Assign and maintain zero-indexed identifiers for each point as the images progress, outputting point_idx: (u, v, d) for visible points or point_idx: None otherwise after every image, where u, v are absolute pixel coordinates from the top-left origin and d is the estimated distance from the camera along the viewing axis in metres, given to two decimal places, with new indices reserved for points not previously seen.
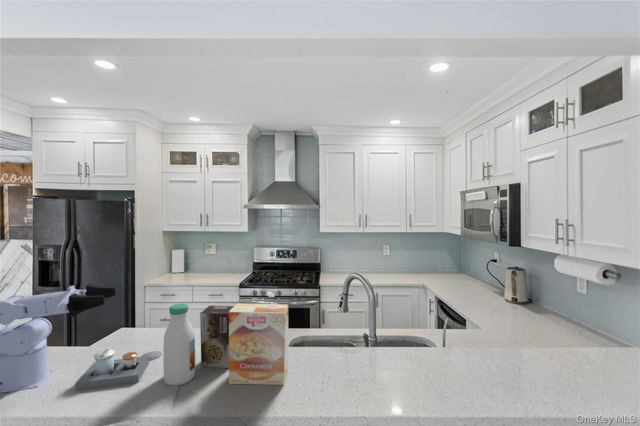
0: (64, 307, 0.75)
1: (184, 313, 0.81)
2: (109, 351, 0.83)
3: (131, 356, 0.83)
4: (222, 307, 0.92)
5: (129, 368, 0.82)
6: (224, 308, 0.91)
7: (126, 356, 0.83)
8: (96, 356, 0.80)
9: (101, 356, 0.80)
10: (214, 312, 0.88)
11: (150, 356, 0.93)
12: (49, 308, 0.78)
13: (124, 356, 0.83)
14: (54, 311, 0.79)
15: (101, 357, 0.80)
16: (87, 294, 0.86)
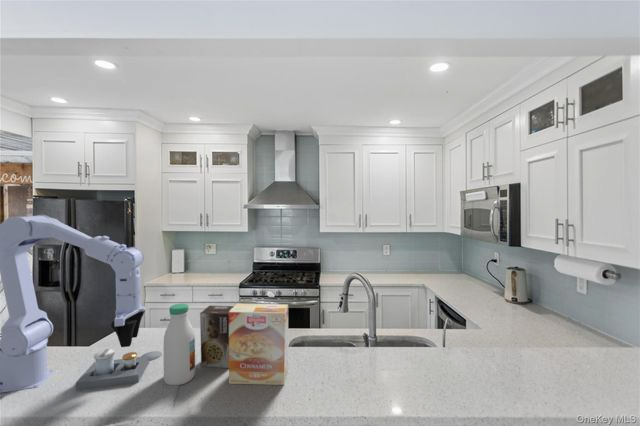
0: (121, 325, 0.76)
1: (184, 313, 0.81)
2: (109, 351, 0.83)
3: (131, 356, 0.83)
4: (222, 307, 0.92)
5: (129, 368, 0.82)
6: (224, 308, 0.91)
7: (126, 356, 0.83)
8: (96, 356, 0.80)
9: (101, 356, 0.80)
10: (214, 312, 0.88)
11: (150, 356, 0.93)
12: (123, 298, 0.80)
13: (124, 356, 0.83)
14: (119, 301, 0.80)
15: (101, 357, 0.80)
16: None
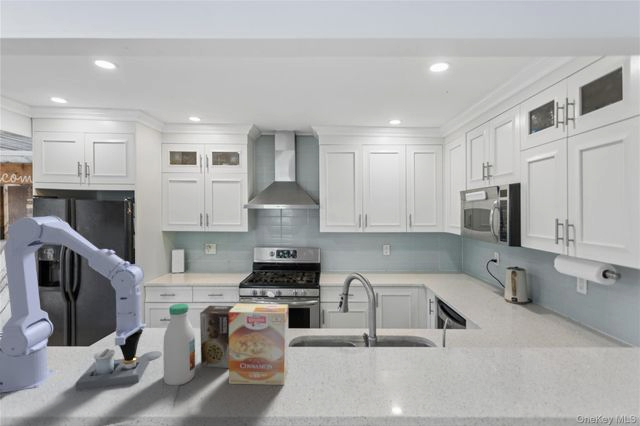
0: (121, 344, 0.76)
1: (184, 313, 0.81)
2: (109, 351, 0.83)
3: (131, 360, 0.83)
4: (222, 307, 0.92)
5: None
6: (224, 308, 0.91)
7: None
8: (96, 356, 0.80)
9: (101, 356, 0.80)
10: (214, 312, 0.88)
11: (150, 356, 0.93)
12: (123, 317, 0.80)
13: (124, 360, 0.83)
14: (119, 319, 0.80)
15: (101, 357, 0.80)
16: None
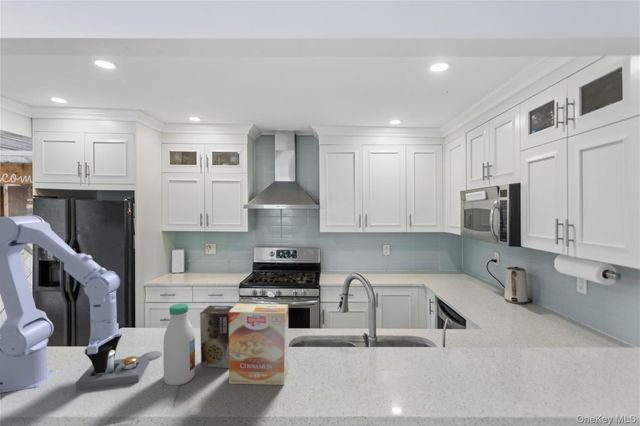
0: (93, 353, 0.75)
1: (184, 313, 0.81)
2: None
3: (131, 360, 0.83)
4: (222, 307, 0.92)
5: None
6: (224, 308, 0.91)
7: (126, 360, 0.83)
8: None
9: None
10: (214, 312, 0.88)
11: (150, 356, 0.93)
12: (97, 325, 0.79)
13: (124, 360, 0.83)
14: (93, 327, 0.79)
15: None
16: None
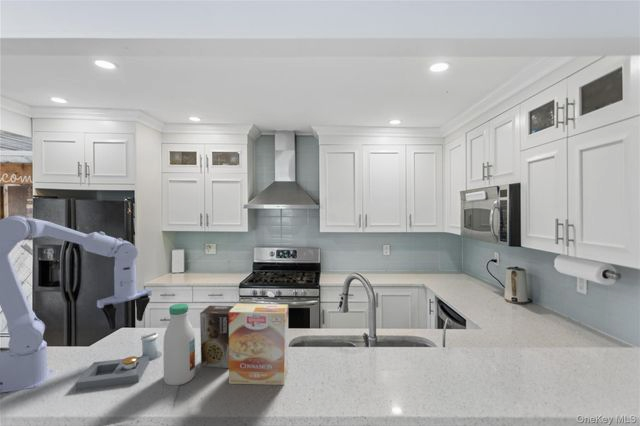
0: (99, 307, 0.87)
1: (184, 313, 0.81)
2: (154, 335, 0.93)
3: (131, 360, 0.83)
4: (222, 307, 0.92)
5: None
6: (224, 308, 0.91)
7: (126, 360, 0.83)
8: (143, 336, 0.92)
9: (143, 337, 0.91)
10: (214, 312, 0.88)
11: None
12: (114, 285, 0.91)
13: (124, 360, 0.83)
14: None
15: (142, 338, 0.91)
16: (139, 298, 0.96)
